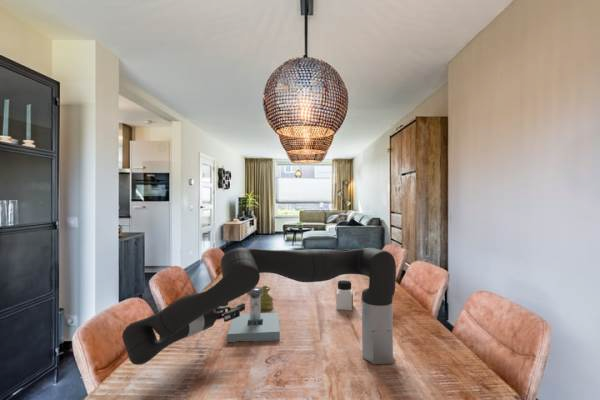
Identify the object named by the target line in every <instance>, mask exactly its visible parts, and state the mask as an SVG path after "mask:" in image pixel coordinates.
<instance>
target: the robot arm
mask: <svg viewBox="0 0 600 400" xmlns="http://www.w3.org/2000/svg"><path fill="white" fill-rule="evenodd" d="M220 268H221V269H220V270H221V275H222V278H221V279H220V280H219V281H218V282H216V283H215V284H214V285H213V286H211V287H210V288H209V289H207V290H205V291H202V292H198V293H192V294H188V295H185V296H182V297H180V298H178V299H175V300H174V301H173V302H172V303H170V304H169V305H168V306H166V307H164V308H163V309H162V310H160V311H159V312H157V313H154V314H153V315H151V316H148V317H146V318H143V319H139V320H135V321H134V322H131V323H129V325H127V326H126V327H125V328H124V330H123V332H122V334H121V335H122V336H121V338H122V342H123V346H124V347H125V349H126V353H127V356H128V359H129V361H130V363H131V364H132V365H135V366H136V365H137V366H139V365H144V364H146V363H148V362H149V361H151V360H152V359H154V358H155V357H156V356H157V355H158V354H159V353H161V351H164V349H166V348H167V347H168V346H171V345H172V344H174V343H176V342H178V341H181V340H183V339H185V338H188V337H191V336H193V335H197V334H199V333H201V332H203V331H206V330H208V329H210V328H212V327H213V326H215V325H214V324H215V323H216V321H218V320H222V319H223V322H225V323H226V322H229V321H232V319H234V318H237V317H239V316H240V314H241V312H243V311H245V310H246V303H240V304H238V305H237V304H236V305H235V306H230V305H229V302H231V301H234V300H236V299H238V298H240V297H242V296H245V294H247V293H248V292H249V291H251V290H252V289H253V288H254V287H257V285H258V284H259V282H260V277H261V276H260V275H261V273H262V274H265V273H266V274H267V273H269V274H276V275H278V276H281V277H284V278H287V279H290V280H293V281H296V282H300V283H317V282H318V283H319V282H321V283H322V282H326V281H330V280H332V279H335V278H337V277H340V276H343V275H362V276H365V277H368V279H369V280H368V288H367V287H366V288H364V289H363V290H362V293H361V295H362V301H361V348H362V349H361V350H362V351H361V353H362V357H363V358H364V360H366V361H368V362H369V363H371V364H372V365H385V364H389V365H390V364H393V363H394V339H393V338H394V335H393V333H394V330H393V329H394V328H393V327H394V325H393V324H394V323H393V322H394V321H393V319H394V318H393V315H394V314H393V312H394V311H393V309H394V308H393V300H394V299H393V298H394V295H395V293H396V278H397V266H396V260H395V257H394V256H393V254H392V253H391V252H389V251H387V250H384V249H379V248H375V247H366V248H365V247H364V248H358V249H357V248H356V249H351V250H336V249H321V248H319V249H276V250H275V249H263V248H253V247H252V248H251V247H237V248H236V247H235V248H233V249H230V250H228V251H227V252H225V253H224V254H222V257H221V259H220ZM156 334H157V335H158V336H159V339H157V335H156Z"/></svg>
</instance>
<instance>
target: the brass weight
mask: <svg viewBox="0 0 600 400" xmlns="http://www.w3.org/2000/svg"><path fill="white" fill-rule="evenodd" d="M261 287H262V288H263V294H261V295H260V310H261V312H267V311H271V310H272V309H274V302H273V301H274V297H273V296H272V295H271V294H269V292H270V290H271V287H269V286H268V285H262V286H261Z"/></svg>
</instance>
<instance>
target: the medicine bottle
mask: <svg viewBox="0 0 600 400" xmlns="http://www.w3.org/2000/svg"><path fill="white" fill-rule="evenodd" d="M353 292H354V290H353V289H352V281H350V280H348V279H341V280H338V281H337V291H336V294H335V296H336V297H335V307H336V308H335V310H337V311H338V310H341V311H353V307H354V293H353Z"/></svg>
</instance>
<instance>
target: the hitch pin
mask: <svg viewBox="0 0 600 400" xmlns="http://www.w3.org/2000/svg"><path fill="white" fill-rule="evenodd" d="M262 287H263V286H255V287H254V288H253V289H252V290H251V291H249V292H248V293H246V294H247V296H249V314H250V326H251V325H261V313H262V311H261V310H260V295H261V294H263V288H262Z"/></svg>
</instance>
